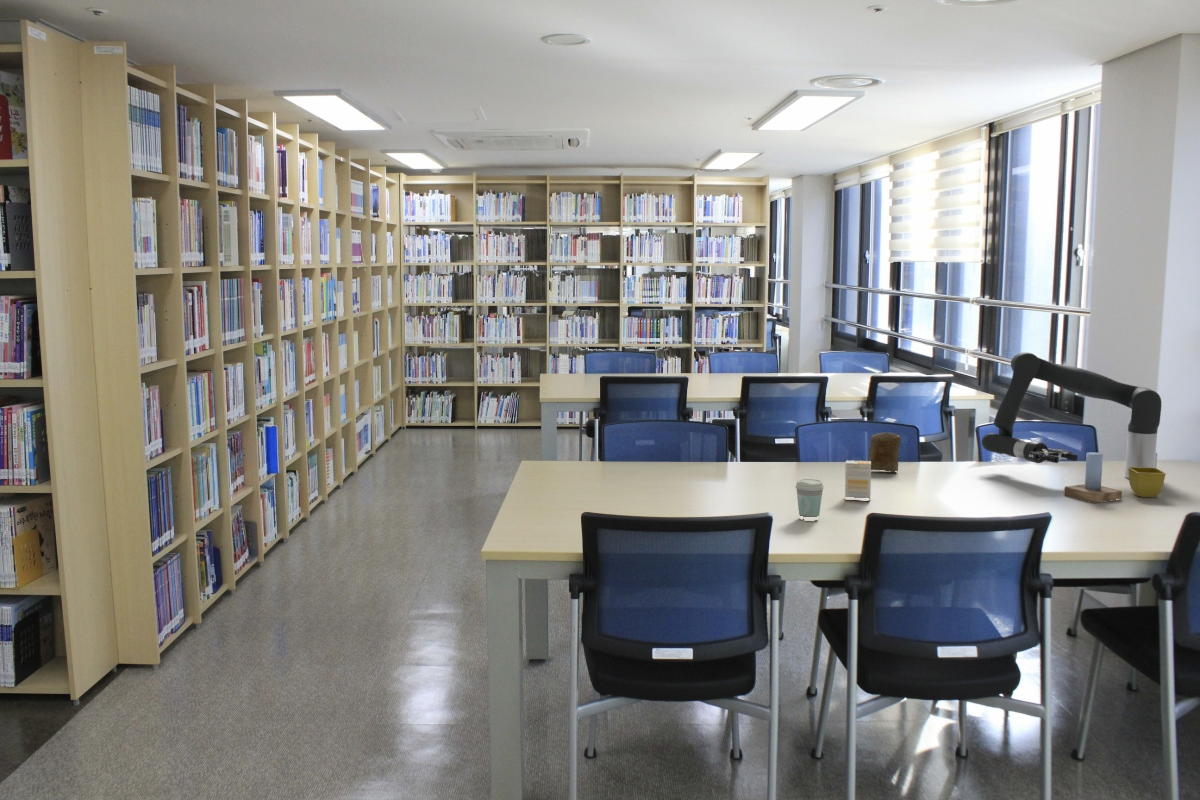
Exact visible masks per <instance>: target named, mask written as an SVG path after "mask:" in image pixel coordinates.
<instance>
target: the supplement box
mask: <svg viewBox="0 0 1200 800" xmlns="http://www.w3.org/2000/svg"><path fill="white" fill-rule="evenodd" d="M844 473H845V474H844V475H845V477H844V478H845V479H844V480H845V481H844V483H845V484H844V492H845V493H844V498H845V497H854V498H869V499H870V500H871V487H872V486H871V485H872V484H871V483H872V482H871V480H872V479H871V478H872V475H871V473H872V470H871V461H869V460H852V459H851V460H850V459H849V460H845V471H844Z"/></svg>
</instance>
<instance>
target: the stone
mask: <svg viewBox="0 0 1200 800" xmlns="http://www.w3.org/2000/svg"><path fill="white" fill-rule="evenodd" d="M870 437H871V438H870V445H869V452H868V453H869V454H868V461H871V471H880V470H885V471H884V472H889V471H892V472H891V473H896V472H895V471H897V472H898V471H899V459H900V458H899V454H900V451H899V450H900V447H901V444H902V443H901V442H902V437H901V436H900V435H899V434H896V433H894V432H885V431H884V432H883V431H882V432H879V433H875V434H872V435H871V436H870Z"/></svg>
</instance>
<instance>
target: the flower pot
mask: <svg viewBox="0 0 1200 800" xmlns="http://www.w3.org/2000/svg"><path fill="white" fill-rule="evenodd" d="M1128 469H1129V478H1128V482H1129V486H1130V488H1131V490H1132V492H1133V494H1135V496H1136V495H1138V497H1139V496H1141V497H1140V498H1156V497H1157V496H1158V495H1159V494H1160V493H1161V491H1162V488H1163V487H1164V483H1165V479H1166V473H1165V472H1164V471H1162V470H1160V469H1159V468H1158V467H1156V468H1146V467H1128Z"/></svg>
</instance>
